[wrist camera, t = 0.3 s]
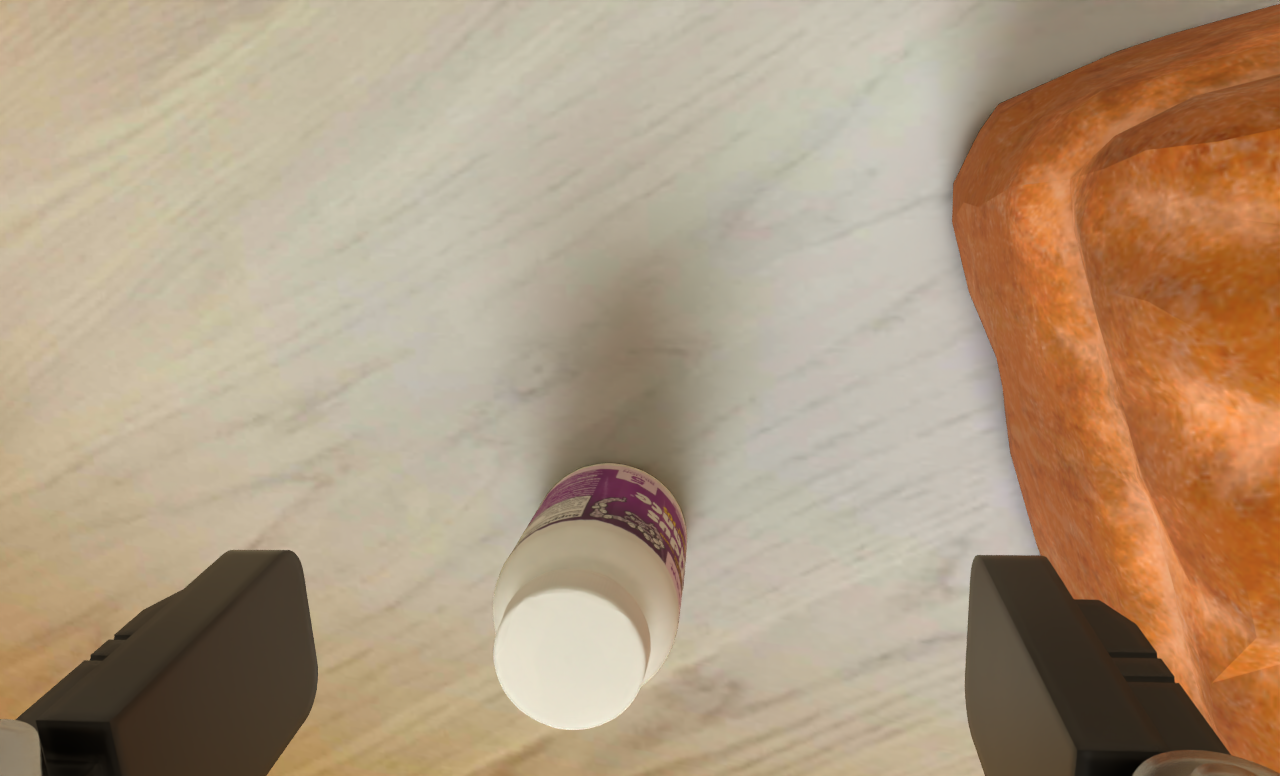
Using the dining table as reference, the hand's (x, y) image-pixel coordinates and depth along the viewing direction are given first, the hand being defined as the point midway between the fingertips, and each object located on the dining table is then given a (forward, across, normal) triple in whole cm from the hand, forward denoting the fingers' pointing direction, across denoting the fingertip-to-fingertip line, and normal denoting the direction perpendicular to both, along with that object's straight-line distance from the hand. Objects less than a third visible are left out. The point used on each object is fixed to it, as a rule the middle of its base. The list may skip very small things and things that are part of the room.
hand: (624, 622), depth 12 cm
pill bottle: (+21, +3, +8) cm, 23 cm away
